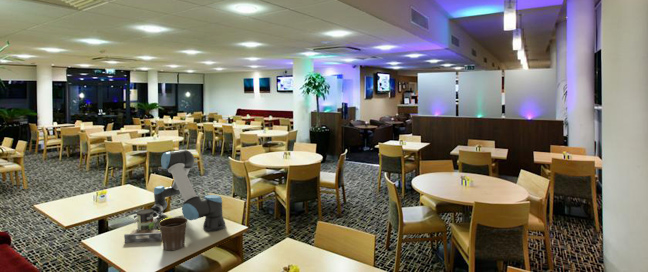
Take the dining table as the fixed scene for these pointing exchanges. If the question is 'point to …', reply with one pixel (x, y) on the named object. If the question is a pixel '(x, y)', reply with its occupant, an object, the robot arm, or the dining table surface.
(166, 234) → the plant pot
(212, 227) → the robot arm
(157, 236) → the display shelf
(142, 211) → the coffee can
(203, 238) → the dining table surface
